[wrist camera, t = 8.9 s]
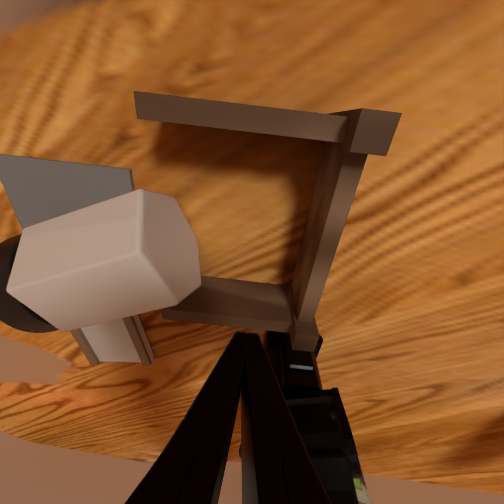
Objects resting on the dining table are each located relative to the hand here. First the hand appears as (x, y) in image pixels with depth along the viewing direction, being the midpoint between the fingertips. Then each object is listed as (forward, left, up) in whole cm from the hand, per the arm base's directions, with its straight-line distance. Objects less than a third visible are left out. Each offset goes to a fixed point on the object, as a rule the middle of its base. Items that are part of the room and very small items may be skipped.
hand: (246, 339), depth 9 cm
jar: (-1, +5, -9) cm, 10 cm away
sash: (-16, +16, -13) cm, 26 cm away
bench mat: (-3, +16, -13) cm, 21 cm away
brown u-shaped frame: (0, +1, -13) cm, 13 cm away
